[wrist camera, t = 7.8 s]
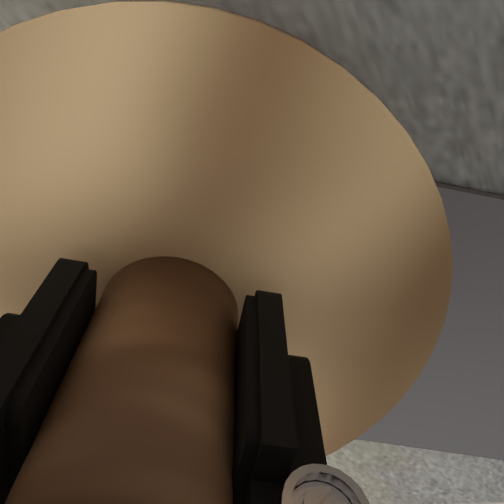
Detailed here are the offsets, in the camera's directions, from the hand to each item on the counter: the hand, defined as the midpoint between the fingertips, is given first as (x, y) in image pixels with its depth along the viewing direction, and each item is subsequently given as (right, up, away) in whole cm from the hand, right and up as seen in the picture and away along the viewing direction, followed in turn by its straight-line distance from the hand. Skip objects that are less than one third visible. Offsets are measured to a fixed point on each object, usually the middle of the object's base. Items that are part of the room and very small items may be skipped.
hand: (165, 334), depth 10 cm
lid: (0, +1, +1) cm, 2 cm away
